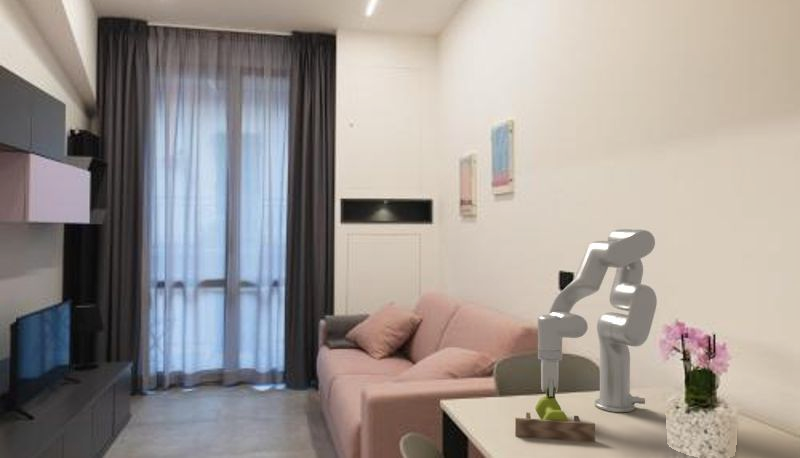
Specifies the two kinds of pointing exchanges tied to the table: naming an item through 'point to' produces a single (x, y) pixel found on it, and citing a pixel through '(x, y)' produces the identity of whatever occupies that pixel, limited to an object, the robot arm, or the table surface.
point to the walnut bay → (555, 429)
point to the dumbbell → (550, 409)
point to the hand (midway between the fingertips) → (550, 411)
